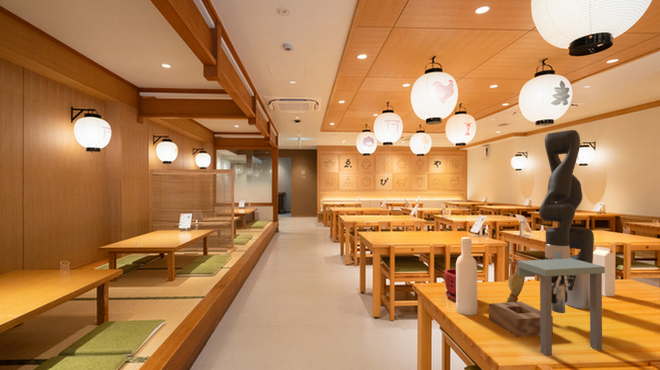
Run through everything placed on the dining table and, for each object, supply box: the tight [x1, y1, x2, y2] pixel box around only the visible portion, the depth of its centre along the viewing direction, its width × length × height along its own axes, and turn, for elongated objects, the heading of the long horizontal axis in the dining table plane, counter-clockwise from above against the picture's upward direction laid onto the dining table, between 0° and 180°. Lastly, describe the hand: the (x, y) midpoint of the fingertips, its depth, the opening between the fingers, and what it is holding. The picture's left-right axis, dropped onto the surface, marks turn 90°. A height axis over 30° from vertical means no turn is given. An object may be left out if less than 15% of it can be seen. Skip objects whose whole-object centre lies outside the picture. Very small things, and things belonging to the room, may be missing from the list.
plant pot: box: [444, 268, 456, 302], centre depth 139 cm, size 13×13×12 cm
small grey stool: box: [516, 258, 605, 357], centre depth 98 cm, size 21×11×26 cm, turn 99°
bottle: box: [455, 236, 478, 316], centre depth 124 cm, size 8×8×30 cm
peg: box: [552, 283, 566, 314], centre depth 113 cm, size 4×4×10 cm
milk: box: [592, 246, 616, 297], centre depth 144 cm, size 6×6×22 cm
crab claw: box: [505, 260, 526, 302], centre depth 125 cm, size 7×5×20 cm
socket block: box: [488, 300, 554, 338], centre depth 111 cm, size 14×14×6 cm
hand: (558, 302), depth 113 cm, fingers closed on peg, 4 cm apart
